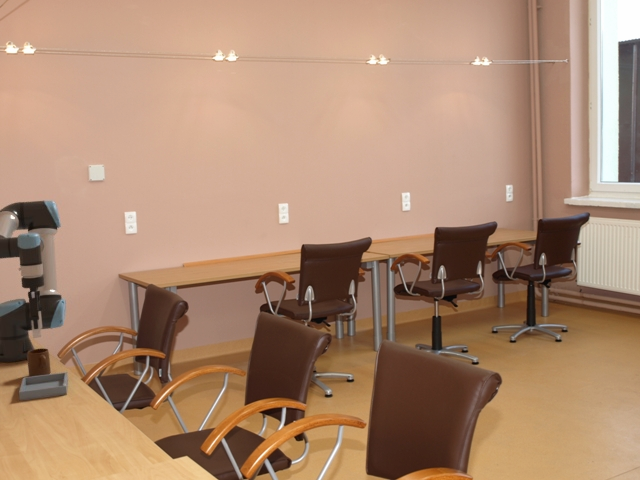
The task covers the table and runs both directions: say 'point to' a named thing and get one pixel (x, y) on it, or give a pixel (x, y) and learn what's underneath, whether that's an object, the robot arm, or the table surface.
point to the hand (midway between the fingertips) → (37, 333)
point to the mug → (38, 362)
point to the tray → (43, 386)
